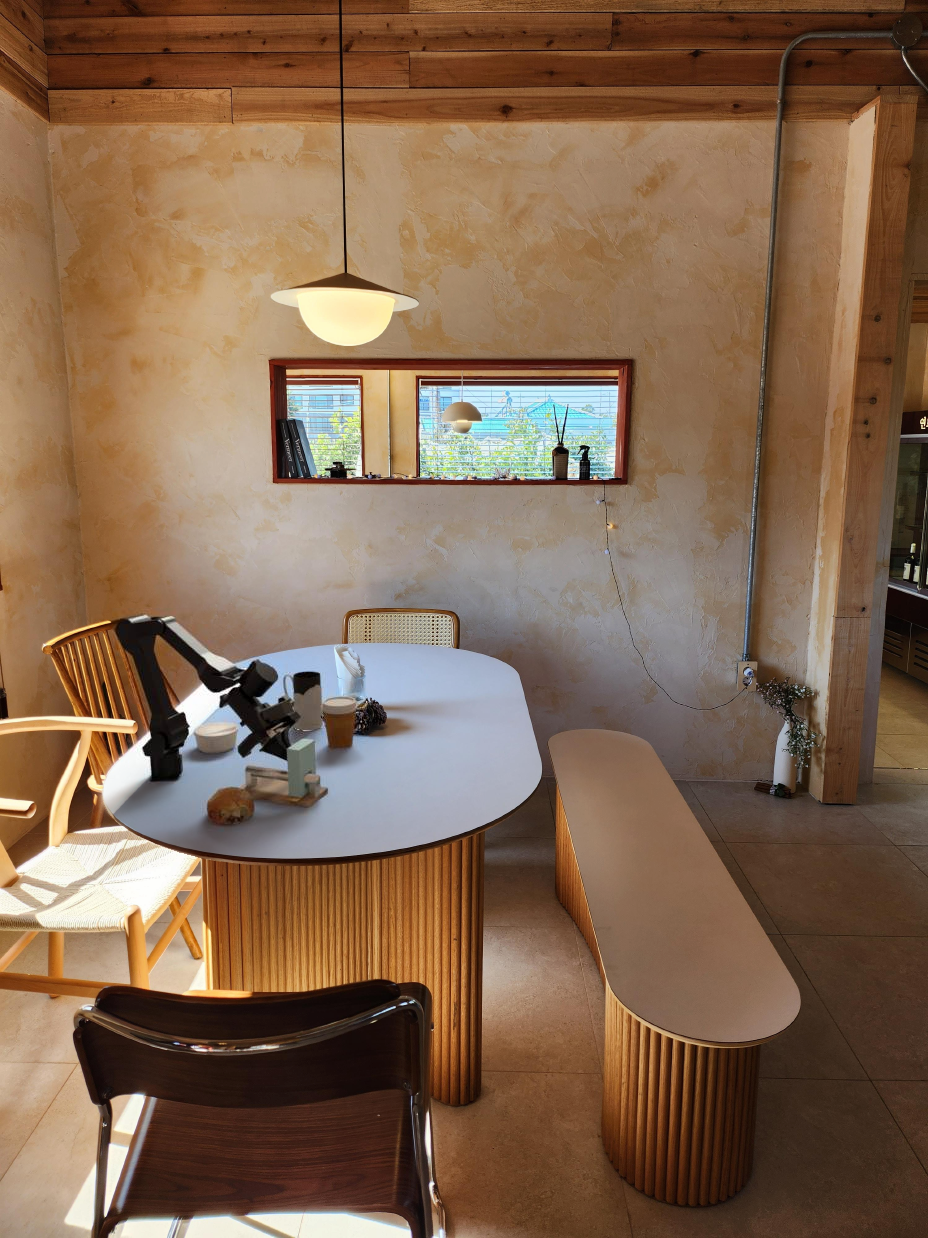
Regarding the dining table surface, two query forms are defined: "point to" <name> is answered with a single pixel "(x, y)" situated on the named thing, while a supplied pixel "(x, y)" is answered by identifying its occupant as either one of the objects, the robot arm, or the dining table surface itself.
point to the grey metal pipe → (280, 778)
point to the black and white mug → (307, 699)
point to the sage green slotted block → (300, 766)
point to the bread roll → (230, 806)
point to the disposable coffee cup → (339, 721)
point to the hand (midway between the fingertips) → (294, 761)
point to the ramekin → (216, 737)
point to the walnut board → (280, 792)
